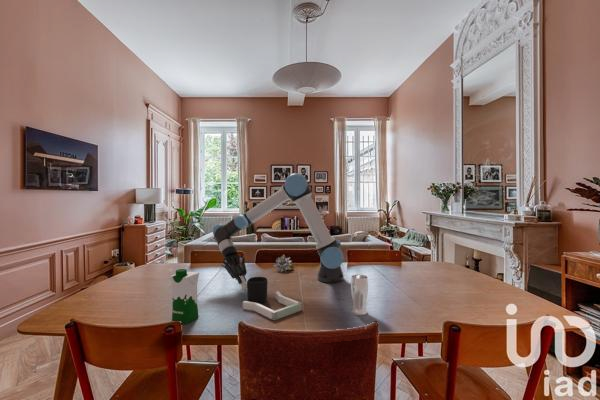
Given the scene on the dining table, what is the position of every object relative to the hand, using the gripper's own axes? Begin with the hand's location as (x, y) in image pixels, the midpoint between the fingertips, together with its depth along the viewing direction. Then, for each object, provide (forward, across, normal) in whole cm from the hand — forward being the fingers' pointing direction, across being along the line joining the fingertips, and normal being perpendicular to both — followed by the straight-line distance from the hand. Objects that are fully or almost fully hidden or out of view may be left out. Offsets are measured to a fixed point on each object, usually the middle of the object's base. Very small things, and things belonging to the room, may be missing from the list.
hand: (245, 288), depth 142 cm
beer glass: (+38, -23, +33) cm, 55 cm away
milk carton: (+8, +32, +2) cm, 33 cm away
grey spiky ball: (-15, -45, -20) cm, 51 cm away
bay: (+18, 0, +13) cm, 22 cm away
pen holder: (+10, 0, +4) cm, 11 cm away
